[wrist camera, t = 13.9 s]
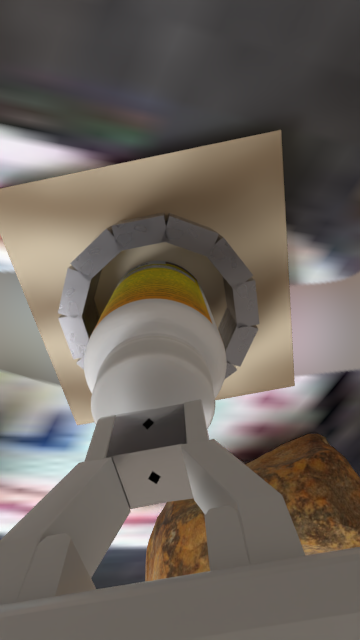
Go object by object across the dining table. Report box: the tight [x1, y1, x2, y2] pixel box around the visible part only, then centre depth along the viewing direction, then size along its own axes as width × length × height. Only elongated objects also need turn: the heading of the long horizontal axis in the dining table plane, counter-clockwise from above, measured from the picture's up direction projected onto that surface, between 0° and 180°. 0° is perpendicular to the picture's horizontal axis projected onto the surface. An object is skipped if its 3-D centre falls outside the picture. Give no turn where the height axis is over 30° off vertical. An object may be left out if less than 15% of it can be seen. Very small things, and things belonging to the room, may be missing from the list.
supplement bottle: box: [84, 261, 227, 429], centre depth 14 cm, size 6×6×10 cm
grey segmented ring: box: [58, 212, 259, 380], centre depth 18 cm, size 10×10×3 cm
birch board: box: [0, 130, 295, 425], centre depth 20 cm, size 16×16×1 cm
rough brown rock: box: [146, 434, 360, 581], centre depth 21 cm, size 23×17×15 cm
